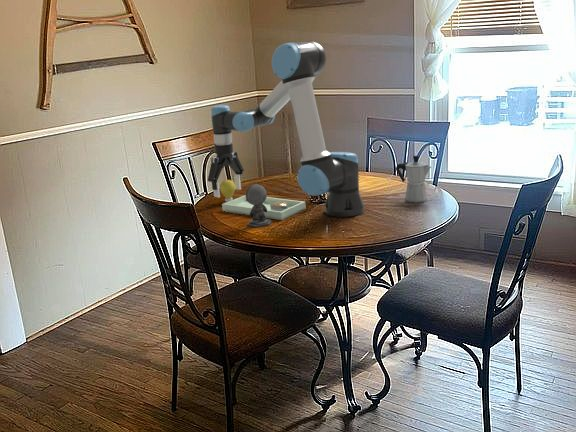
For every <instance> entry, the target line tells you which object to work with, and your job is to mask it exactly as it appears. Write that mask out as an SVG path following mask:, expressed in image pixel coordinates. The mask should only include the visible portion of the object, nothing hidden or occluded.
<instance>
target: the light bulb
mask: <svg viewBox="0 0 576 432" xmlns="http://www.w3.org/2000/svg"><path fill="white" fill-rule="evenodd" d="M236 190H237V189H236V186H235V181H233V180H231V179H226V180H223V181H221V182H220V183H219V191H220V193H221V194H222V195H223V196H224V197H225V198H224V201H225V203H226V202H229V201H231V200H234V199H233V195H234V194H235V191H236Z"/></svg>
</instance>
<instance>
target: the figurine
mask: <svg viewBox="0 0 576 432" xmlns="http://www.w3.org/2000/svg"><path fill="white" fill-rule="evenodd" d="M266 190H267V189H266V188H265V187H264V186H263V185H262V184H258V183H256V184H251V185H249V186H248V187H247V188H246V191H245V195H246V200H247V201H248V203H250V204H252V205H254V206H253V207H252V209H251V212H250V215H249V218H252V219H250V220H249V221H248V222H247V225H246V227H250V228H255V229H259V228H263V227H269V226H271V224H272V222H273V221H272V220H271V218H265V213H264V212H267V208H266V207H265V206H264V205H263V204H262V203H263V202H264V201H265V200H266V197H268V195H267V191H266Z"/></svg>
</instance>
